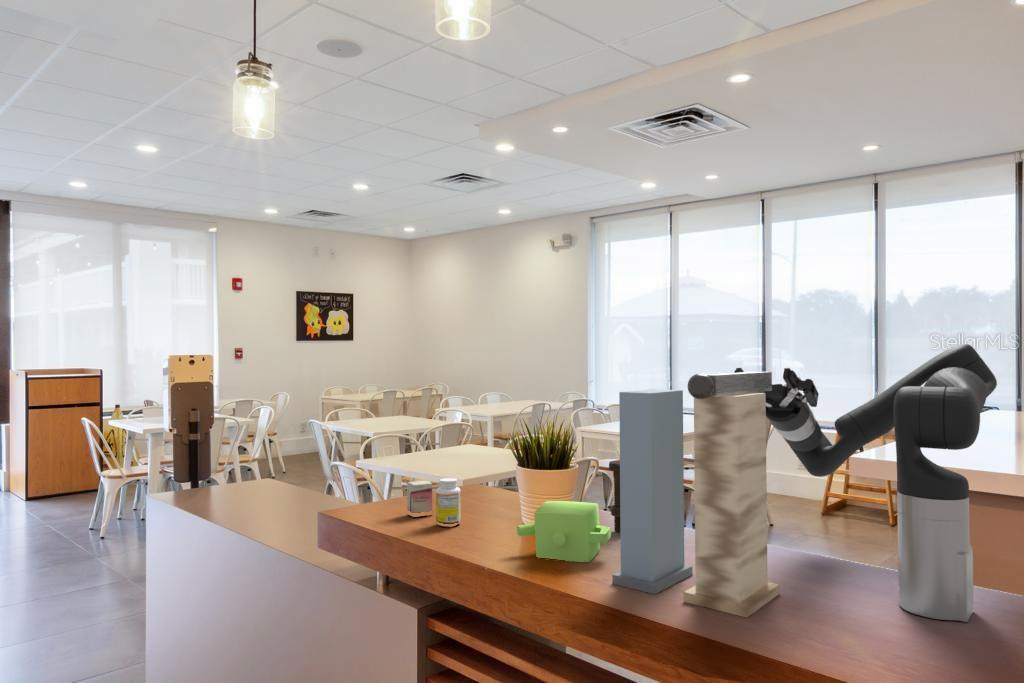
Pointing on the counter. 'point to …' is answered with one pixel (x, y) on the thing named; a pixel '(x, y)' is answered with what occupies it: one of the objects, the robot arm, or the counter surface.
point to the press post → (651, 490)
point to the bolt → (616, 493)
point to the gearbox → (567, 531)
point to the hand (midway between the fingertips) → (760, 372)
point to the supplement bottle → (448, 502)
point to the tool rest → (731, 505)
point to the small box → (419, 496)
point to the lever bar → (729, 384)
